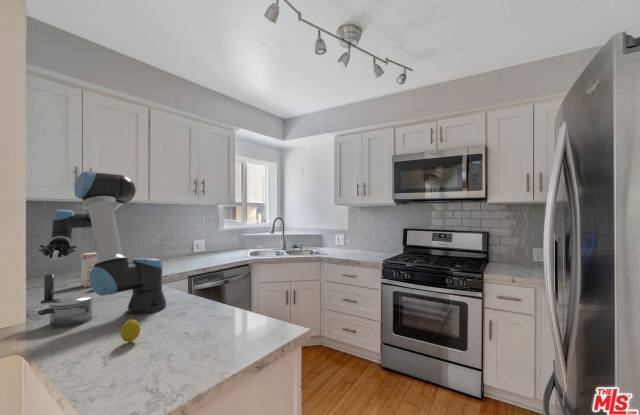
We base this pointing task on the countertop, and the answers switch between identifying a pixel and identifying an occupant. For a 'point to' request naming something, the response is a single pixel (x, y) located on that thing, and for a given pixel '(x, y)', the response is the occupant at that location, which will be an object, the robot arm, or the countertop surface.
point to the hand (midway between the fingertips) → (54, 257)
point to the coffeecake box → (87, 266)
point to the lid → (63, 300)
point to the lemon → (130, 330)
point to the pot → (69, 314)
